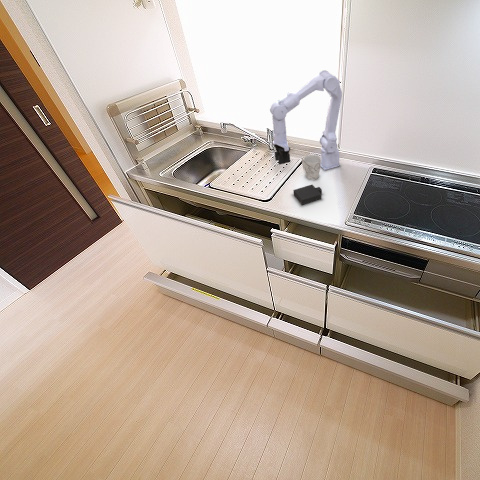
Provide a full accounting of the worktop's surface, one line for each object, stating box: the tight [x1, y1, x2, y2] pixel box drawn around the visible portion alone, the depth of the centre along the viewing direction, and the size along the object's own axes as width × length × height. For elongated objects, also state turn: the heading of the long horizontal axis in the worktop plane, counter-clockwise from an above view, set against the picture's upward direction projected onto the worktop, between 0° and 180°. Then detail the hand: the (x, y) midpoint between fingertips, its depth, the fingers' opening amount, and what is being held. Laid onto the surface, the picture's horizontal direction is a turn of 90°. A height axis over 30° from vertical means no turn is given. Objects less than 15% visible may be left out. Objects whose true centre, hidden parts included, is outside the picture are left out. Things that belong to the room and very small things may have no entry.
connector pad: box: [274, 151, 291, 165], centre depth 130 cm, size 6×5×4 cm
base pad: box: [293, 184, 323, 206], centre depth 121 cm, size 12×9×3 cm
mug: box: [301, 154, 321, 181], centre depth 132 cm, size 11×8×10 cm
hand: (282, 158), depth 130 cm, fingers closed on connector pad, 5 cm apart
